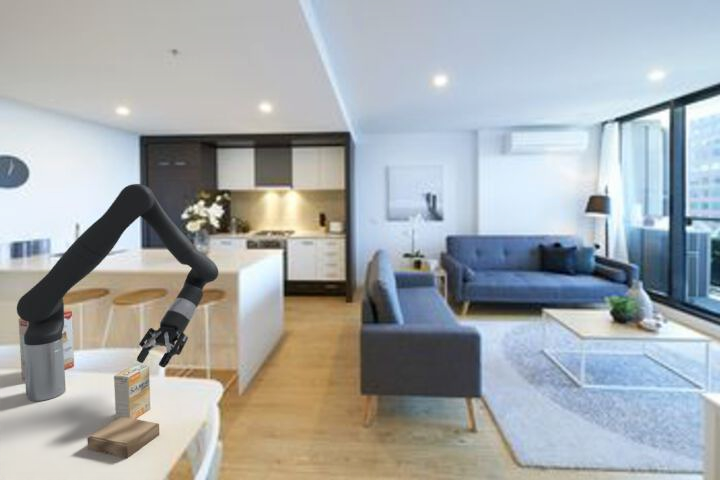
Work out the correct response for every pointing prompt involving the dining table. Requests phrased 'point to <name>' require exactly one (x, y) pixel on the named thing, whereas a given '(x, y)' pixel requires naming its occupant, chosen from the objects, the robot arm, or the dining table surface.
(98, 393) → the dining table surface
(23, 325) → the cracker box
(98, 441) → the brown square board
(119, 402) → the supplement box
